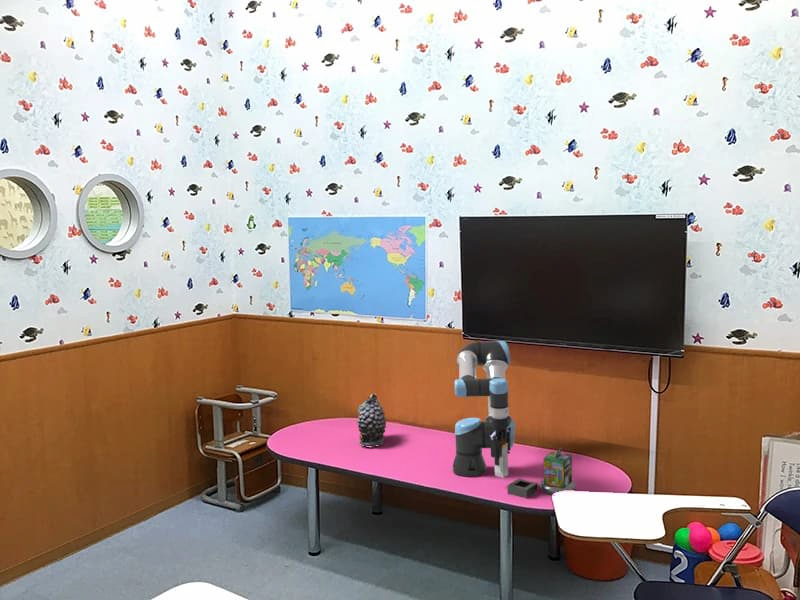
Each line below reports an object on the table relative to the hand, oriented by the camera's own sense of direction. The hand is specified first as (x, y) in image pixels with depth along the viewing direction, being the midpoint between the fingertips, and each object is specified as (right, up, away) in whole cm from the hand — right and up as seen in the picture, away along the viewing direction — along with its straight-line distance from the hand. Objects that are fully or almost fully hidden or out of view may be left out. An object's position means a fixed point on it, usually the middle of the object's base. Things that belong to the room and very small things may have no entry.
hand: (501, 470), depth 291 cm
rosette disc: (+23, -7, -4) cm, 24 cm away
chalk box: (+23, -4, -5) cm, 24 cm away
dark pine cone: (-57, -2, +66) cm, 87 cm away
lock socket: (+8, -8, -6) cm, 13 cm away
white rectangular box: (0, -2, 0) cm, 2 cm away
